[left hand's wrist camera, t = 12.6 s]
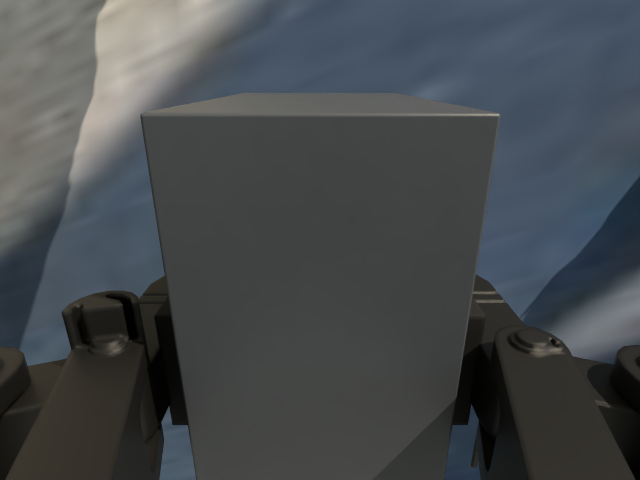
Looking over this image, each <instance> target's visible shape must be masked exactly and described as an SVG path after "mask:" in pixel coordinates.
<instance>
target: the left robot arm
mask: <svg viewBox="0 0 640 480" xmlns="http://www.w3.org/2000/svg"><path fill="white" fill-rule="evenodd" d="M62 316H63V319H64V323H65V327H66V331H67V334H68V338H69V342H70V346H71V349H72V350H71V352H70V353H69V355H68V357H67V359H63V360H58V361H53V362H48V363H43V364H37V365H32V366H27V363H26V360H25V357H24V354H23V353H22V352H21V351H20V350H18V349H17V348H10V347H0V480H159V477H160V469H161V461H162V453H163V445H164V436H163V429H162V424H161V422H162V420H163V417H164V415H165V413H166V411H167V409H168V407H170V412H171V418H172V424H173V425H188V421H187V415H186V409H185V402H184V396H183V389H182V383H181V376H180V370H179V363H178V357H177V350H176V344H175V337H174V331H173V324H172V318H171V311H170V305H169V298H168V292H167V285H166V279H165V276H163V277H162V278H160V279H158V280H157V281H155V282H153V283H152V284H151V285H150V286H149V287H148V288H147V290H146V291H145V292H144V293H143V296H141V297H140V298H139V299H138V297H137V296H136V295H135V294H133V293H131V292H126V291H105V292H100V293H95V294H92V295H89V296H86V297H83V298H80V299H78V300H77V301H75V302H73V303H71V304H69V305H68V306H67V307H66V308H65V309H64V310H63V311H62ZM471 404H472V406H473V408H474V410H475V412H476V415H477V417H478V419H479V424H478V429H477V435H476V440H475V446H474V451H473V457H472V463H471V467H474V468H477V463H478V460H479V468H480V476H481V480H640V345H632V346H625V347H623V348H621V349H620V350H619V351H618V352H617V355H616V358H615V361H614V365H613V364H608V363H602V362H597V361H592V360H587V359H581V358H577V357H573V356H572V355H571V353H570V351H569V349H568V348H567V347H566V345H565V344H564V343H563V342H562V341H561V340H560V339H558V338H557V337H555V336H553V335H552V334H550V333H548V332H545V331H543V330H540V329H538V328H533V327H529V326H525V325H524V323H523V322H522V321H521V320H520V319H519V317H518V316H517V315H516V314H515V313H514V311H513V310H512V309H511V308H510V307H509V305H508V304H507V303H505V301H504V299H503V298H502V297H501V296H500V295H499V294H498V292H497V291H496V290H495V289H494V287H493V286H492V285H491V284H490V283H489V282H488V281H486V280H485V279H483V278H481V277H479V276H478V275H476V276H475V282H474V288H473V295H472V301H471V307H470V314H469V320H468V327H467V333H466V339H465V346H464V352H463V359H462V365H461V371H460V378H459V384H458V391H457V397H456V403H455V410H454V416H453V422H452V425H468V420H469V414H470V408H471Z"/></svg>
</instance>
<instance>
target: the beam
mask: <svg viewBox="0 0 640 480" xmlns="http://www.w3.org/2000/svg"><path fill="white" fill-rule="evenodd" d="M499 122H500V114H498V113H495V112H490V111H485V110H480V109H475V108H469V107H464V106H459V105H454V104H449V103H444V102H439V101H433V100H428V99H423V98H418V97H413V96H408V95H403V94H397V93H243V94H238V95H232V96H227V97H222V98H217V99H212V100H206V101H201V102H196V103H191V104H186V105H180V106H175V107H170V108H165V109H160V110H154V111H149V112H144V113H142V114H141V123H142V130H143V136H144V143H145V149H146V156H147V162H148V169H149V175H150V181H151V188H152V194H153V201H154V207H155V214H156V220H157V227H158V233H159V240H160V246H161V253H162V259H163V266H164V272H165V279H166V285H167V292H168V298H169V305H170V311H171V318H172V324H173V331H174V337H175V344H176V350H177V357H178V363H179V370H180V376H181V383H182V389H183V396H184V402H185V409H186V415H187V421H188V428H189V434H190V441H191V447H192V454H193V460H194V467H195V473H196V480H444V474H445V467H446V461H447V454H448V448H449V442H450V435H451V429H452V422H453V416H454V410H455V403H456V397H457V391H458V384H459V378H460V371H461V365H462V359H463V352H464V346H465V339H466V333H467V327H468V320H469V314H470V307H471V301H472V295H473V288H474V282H475V276H476V269H477V263H478V256H479V250H480V244H481V237H482V231H483V224H484V218H485V212H486V205H487V199H488V193H489V186H490V180H491V173H492V167H493V161H494V154H495V148H496V141H497V135H498V129H499Z"/></svg>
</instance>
